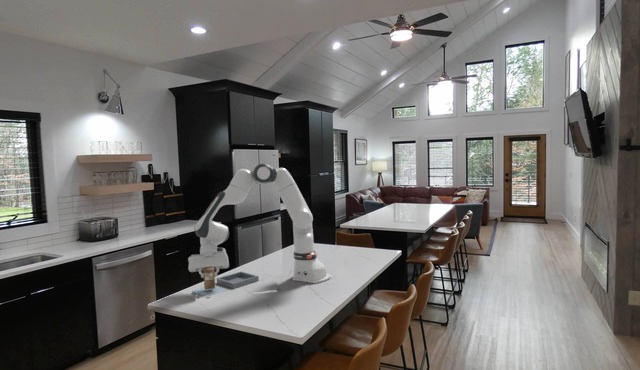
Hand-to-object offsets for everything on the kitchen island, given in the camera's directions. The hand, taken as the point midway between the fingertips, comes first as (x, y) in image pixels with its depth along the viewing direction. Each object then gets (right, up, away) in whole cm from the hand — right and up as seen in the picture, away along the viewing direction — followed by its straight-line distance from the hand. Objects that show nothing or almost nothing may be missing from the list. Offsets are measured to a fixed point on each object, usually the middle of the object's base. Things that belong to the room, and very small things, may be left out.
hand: (209, 276), depth 196 cm
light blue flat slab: (0, -8, +1) cm, 8 cm away
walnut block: (0, -6, +1) cm, 6 cm away
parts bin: (+12, -7, +13) cm, 19 cm away
